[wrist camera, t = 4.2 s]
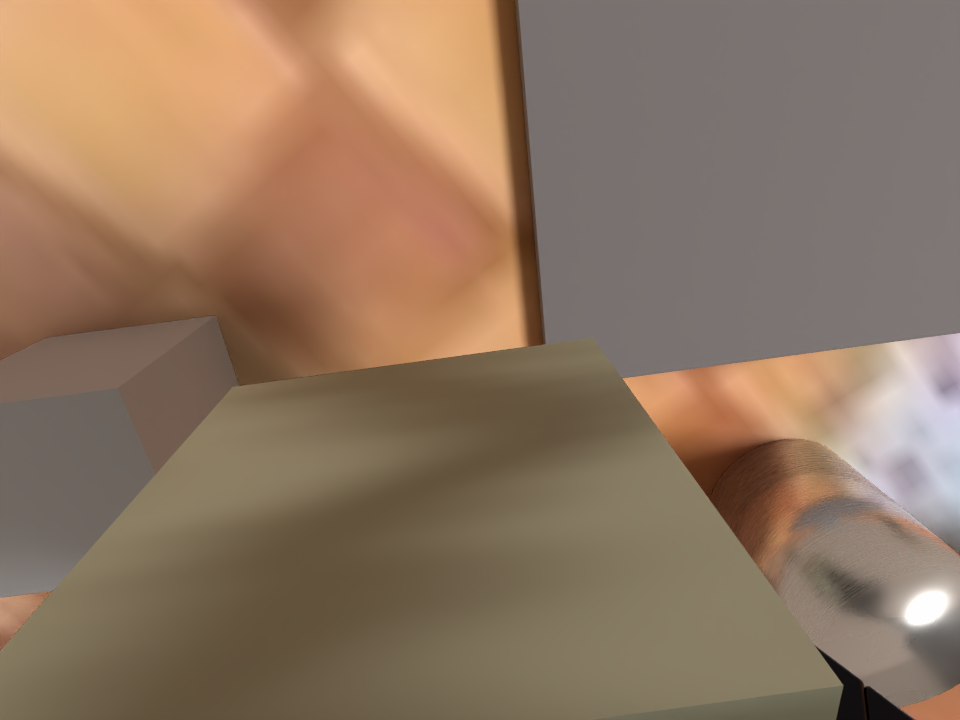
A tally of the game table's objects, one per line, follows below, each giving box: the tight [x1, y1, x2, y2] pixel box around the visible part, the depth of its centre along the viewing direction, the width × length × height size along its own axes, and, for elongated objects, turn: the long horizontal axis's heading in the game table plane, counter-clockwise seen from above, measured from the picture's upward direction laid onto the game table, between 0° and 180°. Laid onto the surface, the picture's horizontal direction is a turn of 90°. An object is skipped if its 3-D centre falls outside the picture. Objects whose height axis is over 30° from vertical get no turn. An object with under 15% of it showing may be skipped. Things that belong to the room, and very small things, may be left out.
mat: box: [515, 0, 960, 378], centre depth 13 cm, size 16×16×1 cm
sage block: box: [0, 338, 843, 720], centre depth 7 cm, size 6×6×6 cm
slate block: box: [0, 315, 239, 598], centre depth 14 cm, size 5×5×5 cm
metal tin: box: [710, 439, 960, 707], centre depth 16 cm, size 5×5×6 cm
